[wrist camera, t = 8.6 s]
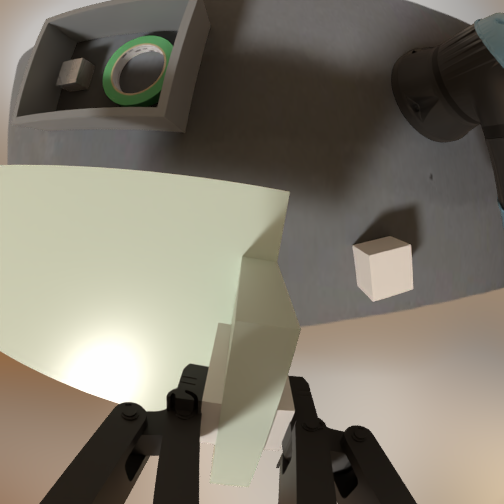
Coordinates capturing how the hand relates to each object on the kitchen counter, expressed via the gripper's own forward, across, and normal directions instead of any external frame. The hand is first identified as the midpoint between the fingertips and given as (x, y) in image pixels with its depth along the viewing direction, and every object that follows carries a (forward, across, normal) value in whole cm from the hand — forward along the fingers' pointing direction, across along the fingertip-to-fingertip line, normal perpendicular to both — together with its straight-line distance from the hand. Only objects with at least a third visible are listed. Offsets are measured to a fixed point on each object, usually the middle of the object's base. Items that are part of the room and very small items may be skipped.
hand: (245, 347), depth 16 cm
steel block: (+22, +30, -23) cm, 43 cm away
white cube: (+22, -18, -2) cm, 28 cm away
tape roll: (+22, +18, -23) cm, 37 cm away
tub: (+22, +22, -23) cm, 39 cm away
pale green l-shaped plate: (+4, +12, 0) cm, 12 cm away
